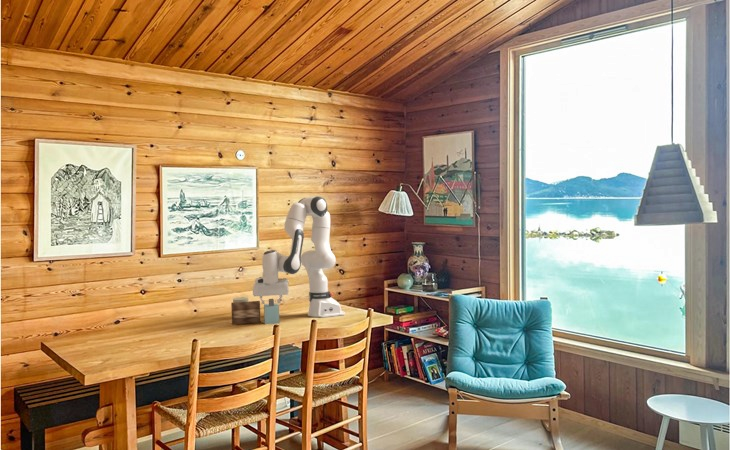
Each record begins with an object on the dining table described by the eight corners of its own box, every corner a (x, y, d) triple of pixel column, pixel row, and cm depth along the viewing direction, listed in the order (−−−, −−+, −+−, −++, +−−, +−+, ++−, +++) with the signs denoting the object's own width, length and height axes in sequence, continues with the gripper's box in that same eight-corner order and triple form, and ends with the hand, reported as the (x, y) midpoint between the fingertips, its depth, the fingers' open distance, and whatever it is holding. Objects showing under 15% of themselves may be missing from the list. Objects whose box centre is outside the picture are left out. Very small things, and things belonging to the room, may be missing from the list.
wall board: (260, 321, 339) (259, 300, 338) (261, 323, 333) (260, 302, 333) (231, 323, 335) (231, 302, 334) (232, 325, 329) (231, 304, 328)
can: (250, 316, 357) (250, 296, 356) (246, 318, 348) (245, 298, 347) (236, 316, 358) (235, 296, 357) (231, 319, 348) (230, 298, 348)
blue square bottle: (277, 320, 341) (277, 297, 340) (279, 323, 332) (278, 299, 332) (263, 321, 339) (263, 298, 338) (265, 324, 330) (264, 300, 330)
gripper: (288, 277, 338) (288, 301, 339) (252, 279, 333) (252, 303, 334) (289, 278, 332) (290, 303, 333) (252, 280, 327) (253, 305, 327)
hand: (271, 303), depth 333 cm, fingers open, 8 cm apart
